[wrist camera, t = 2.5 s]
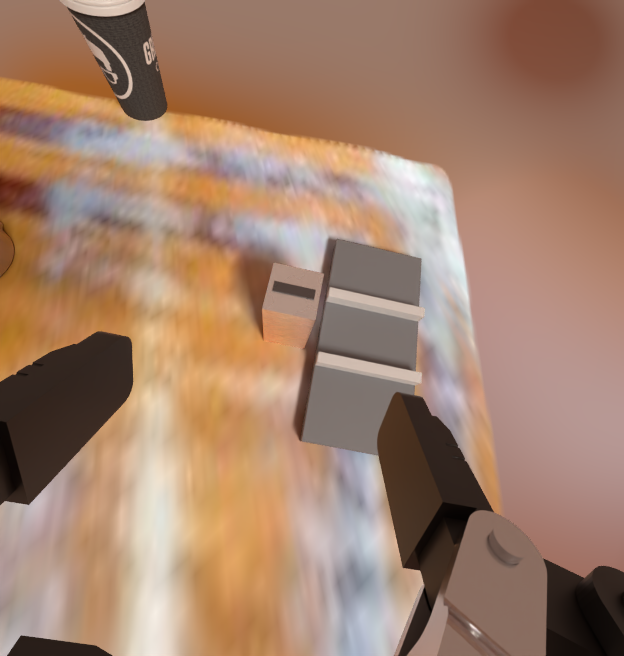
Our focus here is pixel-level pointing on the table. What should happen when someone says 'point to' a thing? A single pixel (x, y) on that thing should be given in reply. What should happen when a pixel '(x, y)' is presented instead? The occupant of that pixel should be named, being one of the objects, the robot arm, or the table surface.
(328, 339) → the plate
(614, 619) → the robot arm
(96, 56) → the coffee cup
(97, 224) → the table surface
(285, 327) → the block
